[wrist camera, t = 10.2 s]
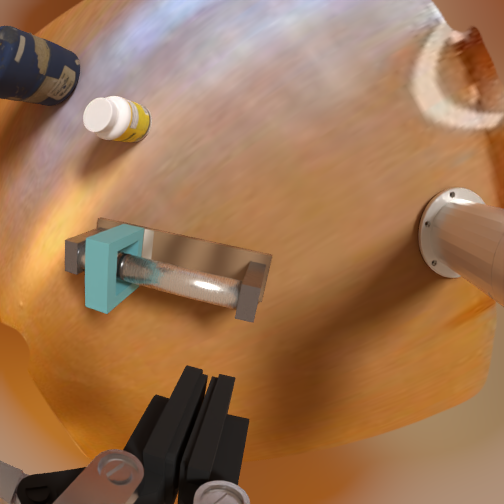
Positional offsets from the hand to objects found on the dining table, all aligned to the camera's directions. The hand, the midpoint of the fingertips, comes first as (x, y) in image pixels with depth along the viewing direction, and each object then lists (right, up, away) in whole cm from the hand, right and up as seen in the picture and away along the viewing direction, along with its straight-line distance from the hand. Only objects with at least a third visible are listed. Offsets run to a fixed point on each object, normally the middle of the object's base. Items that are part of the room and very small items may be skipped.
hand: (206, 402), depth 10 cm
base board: (-9, +4, +32) cm, 33 cm away
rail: (-9, +4, +32) cm, 33 cm away
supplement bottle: (-14, +22, +28) cm, 39 cm away
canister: (-28, +32, +27) cm, 51 cm away
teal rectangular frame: (-14, +5, +29) cm, 32 cm away
